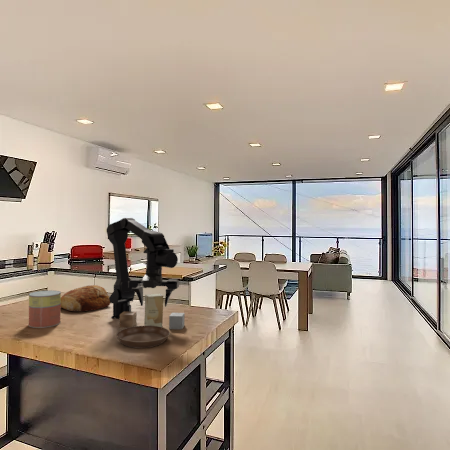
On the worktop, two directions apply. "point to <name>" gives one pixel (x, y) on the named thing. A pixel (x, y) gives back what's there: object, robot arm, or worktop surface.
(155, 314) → the skincare box
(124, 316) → the walnut block
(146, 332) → the plant saucer
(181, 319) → the slate grey block
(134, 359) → the worktop surface
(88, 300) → the bread
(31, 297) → the canned food
